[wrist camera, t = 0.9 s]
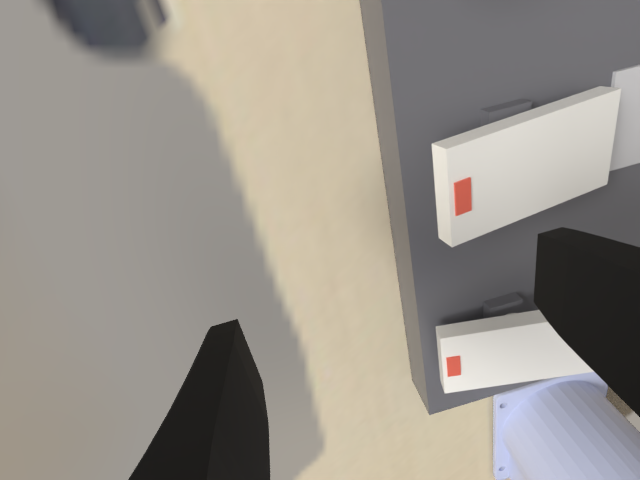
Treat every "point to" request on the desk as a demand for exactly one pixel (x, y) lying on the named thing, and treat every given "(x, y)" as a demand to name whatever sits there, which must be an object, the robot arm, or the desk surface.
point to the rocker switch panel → (476, 111)
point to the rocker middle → (523, 164)
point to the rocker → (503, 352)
